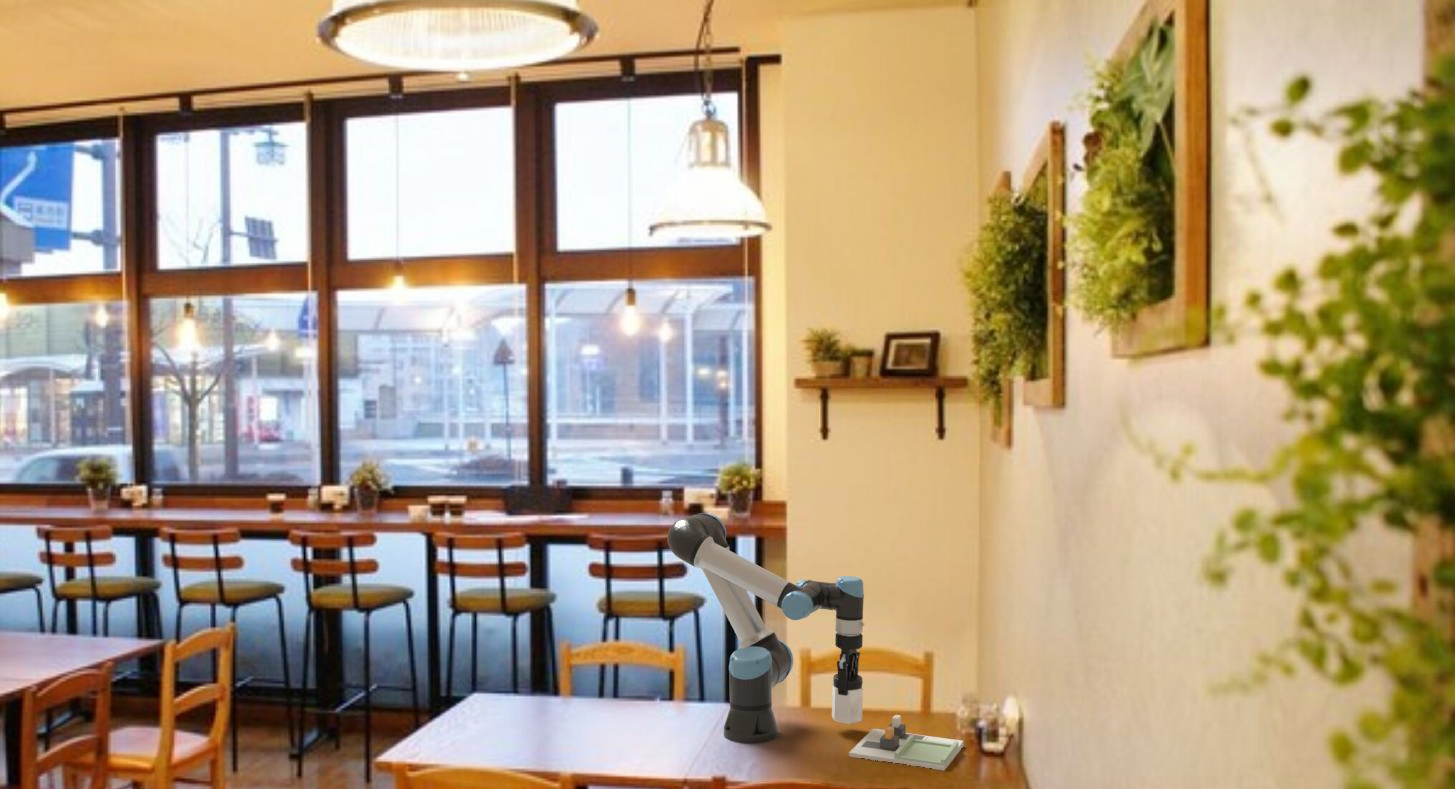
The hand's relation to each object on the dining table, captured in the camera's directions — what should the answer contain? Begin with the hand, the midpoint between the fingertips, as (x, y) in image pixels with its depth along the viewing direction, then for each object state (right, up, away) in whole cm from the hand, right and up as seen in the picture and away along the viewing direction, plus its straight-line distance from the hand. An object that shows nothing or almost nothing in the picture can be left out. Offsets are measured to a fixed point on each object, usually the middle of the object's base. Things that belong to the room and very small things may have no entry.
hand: (847, 716), depth 301 cm
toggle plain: (+12, -3, -8) cm, 15 cm away
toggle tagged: (+9, -3, -17) cm, 20 cm away
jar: (0, -1, 0) cm, 1 cm away
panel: (+14, -4, -17) cm, 22 cm away
